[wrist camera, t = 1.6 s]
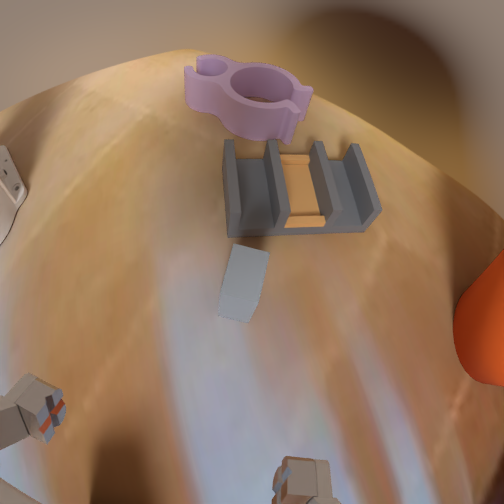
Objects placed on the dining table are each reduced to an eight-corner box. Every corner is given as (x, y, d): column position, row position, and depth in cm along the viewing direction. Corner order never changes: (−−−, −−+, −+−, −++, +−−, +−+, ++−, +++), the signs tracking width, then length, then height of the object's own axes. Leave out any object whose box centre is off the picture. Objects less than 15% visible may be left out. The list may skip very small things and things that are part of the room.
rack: (227, 237, 41) (230, 213, 35) (222, 168, 45) (224, 139, 40) (363, 232, 44) (382, 210, 38) (344, 169, 48) (358, 143, 43)
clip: (171, 112, 49) (169, 80, 43) (208, 75, 55) (210, 46, 48) (283, 155, 48) (293, 123, 42) (308, 111, 53) (318, 82, 47)
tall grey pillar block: (218, 315, 37) (220, 292, 29) (228, 276, 39) (233, 243, 31) (247, 323, 37) (258, 302, 29) (257, 283, 39) (269, 252, 31)
